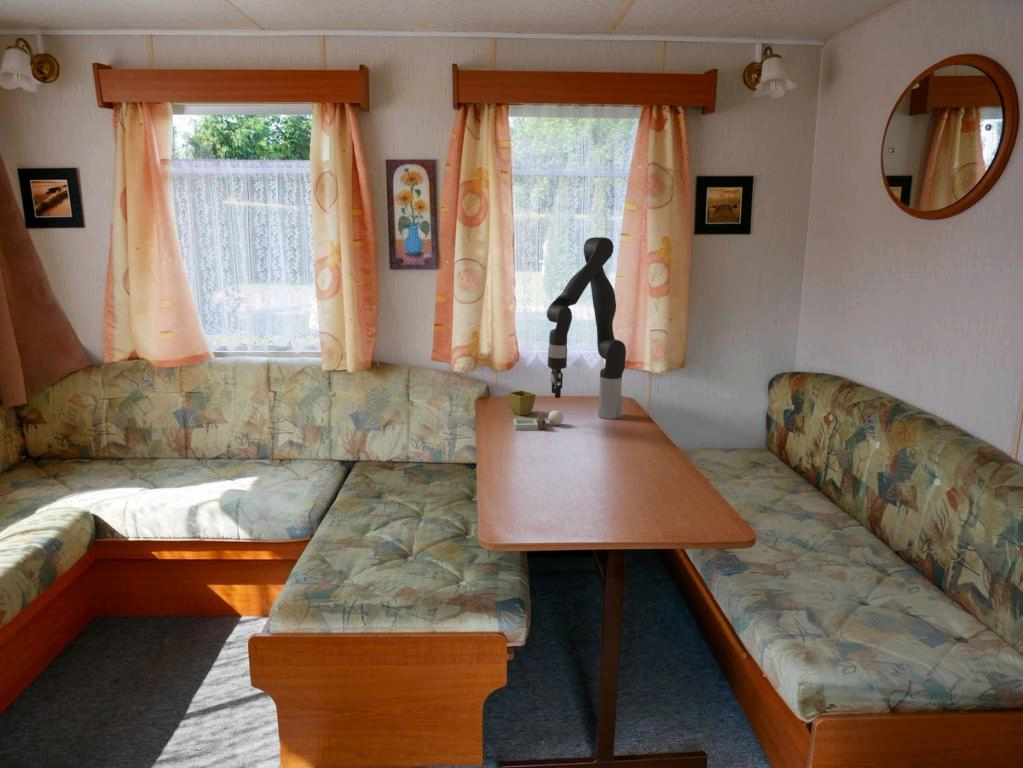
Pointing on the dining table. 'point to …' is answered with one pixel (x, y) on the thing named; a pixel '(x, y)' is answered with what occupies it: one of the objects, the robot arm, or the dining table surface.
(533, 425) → the dish
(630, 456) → the dining table surface
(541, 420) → the rail
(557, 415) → the ball
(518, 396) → the flower pot
